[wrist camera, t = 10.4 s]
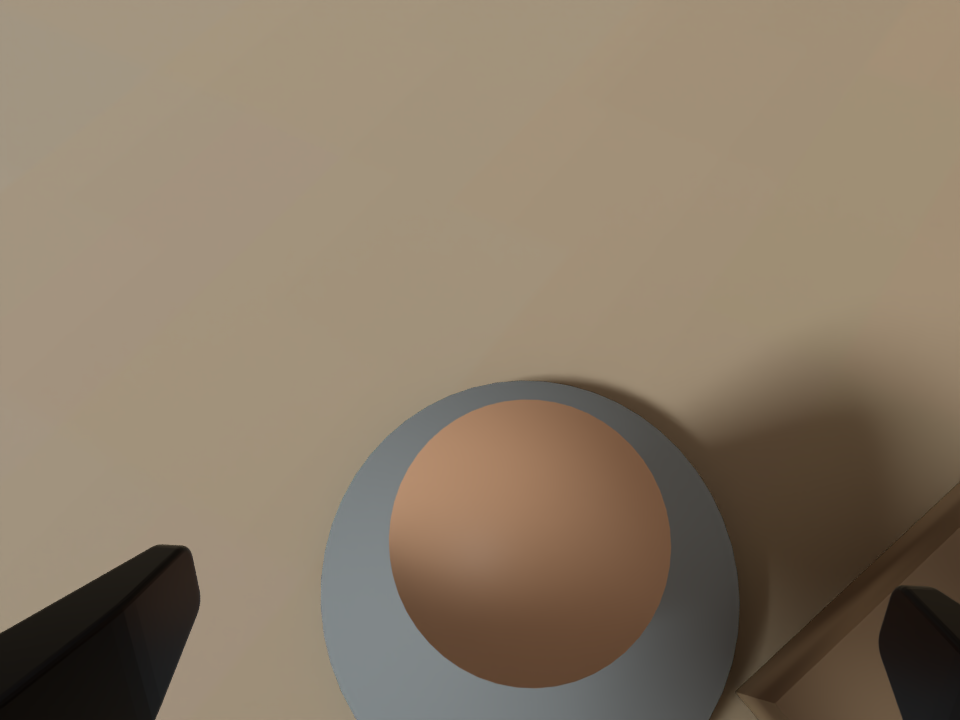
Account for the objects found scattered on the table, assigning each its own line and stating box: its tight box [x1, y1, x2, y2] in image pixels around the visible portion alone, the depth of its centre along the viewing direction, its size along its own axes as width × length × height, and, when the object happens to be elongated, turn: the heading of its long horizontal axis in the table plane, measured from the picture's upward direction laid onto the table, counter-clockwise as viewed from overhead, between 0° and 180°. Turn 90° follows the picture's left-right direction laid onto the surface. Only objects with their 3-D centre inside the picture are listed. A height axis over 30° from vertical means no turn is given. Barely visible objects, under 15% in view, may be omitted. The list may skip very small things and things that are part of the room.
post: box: [389, 400, 671, 688], centre depth 14 cm, size 4×4×9 cm
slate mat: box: [321, 381, 740, 720], centre depth 19 cm, size 11×11×1 cm
